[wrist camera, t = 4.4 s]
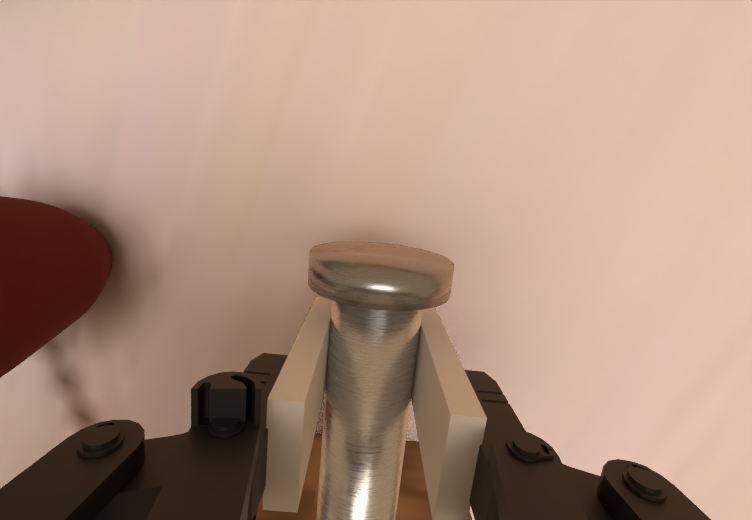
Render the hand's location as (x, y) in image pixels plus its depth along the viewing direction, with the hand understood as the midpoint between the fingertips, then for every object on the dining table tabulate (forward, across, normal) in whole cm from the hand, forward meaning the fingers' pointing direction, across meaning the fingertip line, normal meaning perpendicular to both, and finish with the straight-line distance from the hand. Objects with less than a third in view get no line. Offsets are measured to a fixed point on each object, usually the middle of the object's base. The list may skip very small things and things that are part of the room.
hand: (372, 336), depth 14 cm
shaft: (+1, 0, -10) cm, 10 cm away
